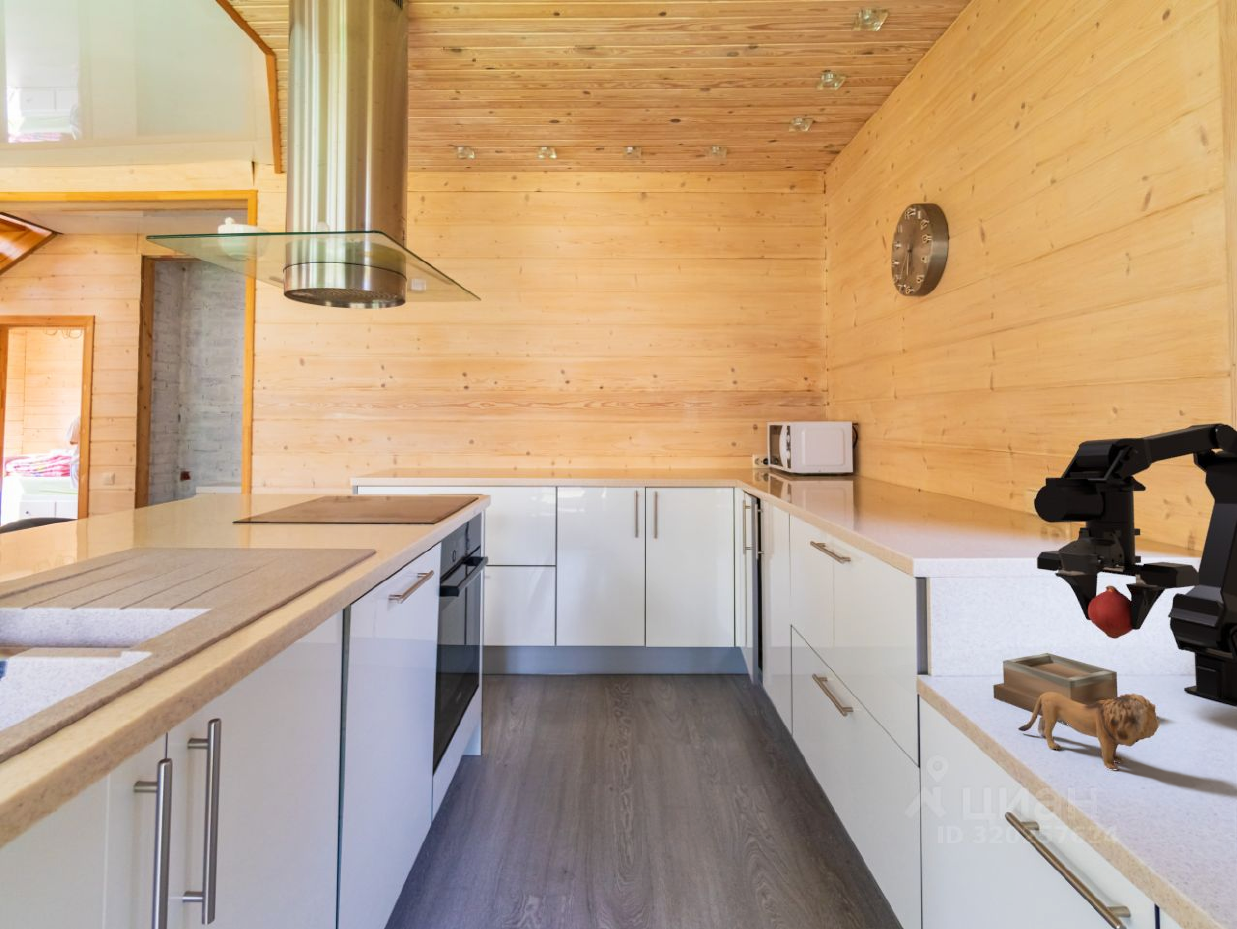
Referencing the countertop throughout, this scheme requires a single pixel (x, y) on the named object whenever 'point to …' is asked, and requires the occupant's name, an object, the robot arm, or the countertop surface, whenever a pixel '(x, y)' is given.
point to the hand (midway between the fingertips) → (1112, 624)
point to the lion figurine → (1098, 721)
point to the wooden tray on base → (1053, 681)
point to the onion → (1111, 612)
